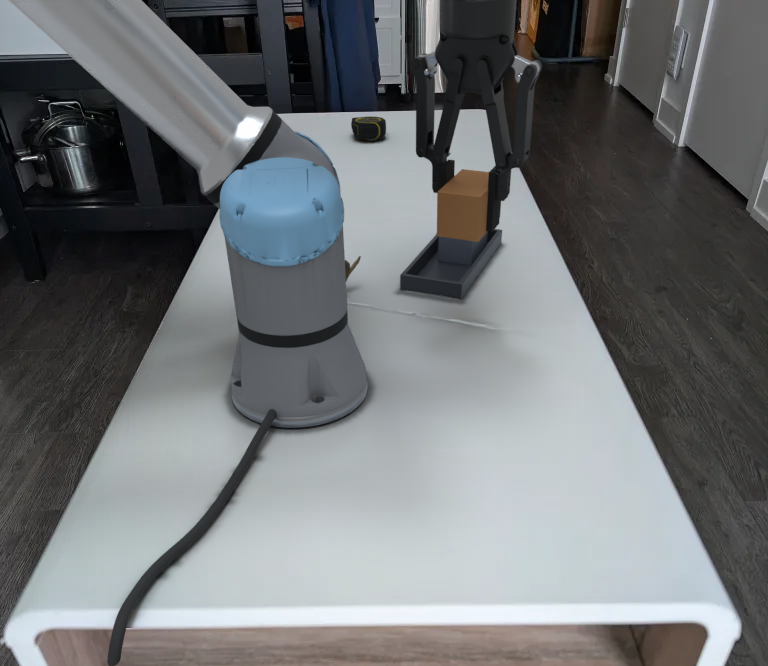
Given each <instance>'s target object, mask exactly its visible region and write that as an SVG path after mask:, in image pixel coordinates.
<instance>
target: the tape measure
mask: <svg viewBox="0 0 768 666" xmlns="http://www.w3.org/2000/svg"><path fill="white" fill-rule="evenodd" d="M350 126H351V131H352V134H353V137H355V138H356V139H359V140H366V141H367V142H374V141H375V142H376V141H377V140H378V139H382V138H384V137H385V136H386V134H387V120H386V119H385V118H384V117H380V116H359V117H351V122H350Z"/></svg>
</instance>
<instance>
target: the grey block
mask: <svg viewBox="0 0 768 666" xmlns="http://www.w3.org/2000/svg"><path fill="white" fill-rule="evenodd" d="M487 235H488V231H487V232H486V234H485V235H484V236H483V237H482V238H481V239H480V241H479V242H475V241H468V240H460V239H453V238H446V237H439V243H438V261H443V262H450V263H457V264H464V265H472V264H473V262H474V261H475V260H476V258H477V257H478V256H479V254H480V253H481V252H482V250H483V249H484V248H485V246H486V245H487Z"/></svg>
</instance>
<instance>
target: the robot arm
mask: <svg viewBox="0 0 768 666" xmlns="http://www.w3.org/2000/svg"><path fill="white" fill-rule="evenodd" d="M8 1H9V3H11V4H12V5H13V6H14V7H15V8H16V9H18V11H20V12H21V13H22V14H23V15H24V16H25V17H26V18H28V20H30V21H31V22H32V23H33V24H34V25H35V26H36V27H37V28H38V29H40V30H41V31H42V32H43V33H44V34H45V35H46V36H47V37H49V38H50V39H51V40H52V41H53V42H54V43H55V44H56V45H57V46H59V48H61V49H62V50H63V51H64V52H65V53H66V54H68V55H69V57H71V58H72V59H73V60H74V61H75V62H76V63H77V64H78V65H80V66H81V67H82V68H83V69H84V70H85V71H86V72H87V73H89V74H90V75H91V76H92V77H93V78H94V79H95V80H96V81H97V82H98V83H99V84H100V85H102V86H103V87H104V88H105V89H106V90H107V91H109V93H110V94H112V95H113V96H114V97H115V98H116V99H117V100H118V101H120V103H122V104H123V105H124V106H125V107H126V108H127V109H128V110H129V111H130V112H132V114H134V115H135V116H136V117H137V118H138V119H139V120H140V121H142V122H143V124H145V125H146V126H147V127H148V128H150V130H152V132H154V133H155V134H156V135H157V136H158V137H160V138H161V140H163V141H164V142H165V143H166V144H167V145H168V146H169V147H170V148H172V149H173V150H174V151H175V152H176V153H177V154H178V155H179V156H181V157H182V159H184V160H185V161H186V162H187V163H188V164H189V165H190V166H191V167H192V168H194V169H195V170H196V173H197V175H198V181H199V189H200V193H201V195H203V196H204V197H205V198H206V199H207V200H208V201H210V203H212V204H213V205H214V206H215V207H217V209H218V210H219V214H218V215H219V216H218V217H219V223H220V228H221V230H222V233H223V237H224V242H225V249H226V256H227V262H228V269H229V276H230V283H231V288H232V289H231V290H232V296H233V303H234V309H235V316H236V321H237V327H238V328H237V329H238V337H237V343H236V347H235V353H234V357H233V362H232V367H231V373H230V385H229V386H230V392H231V393H230V394H231V399H232V403H233V405H234V407H235V408H236V409H237V411H238V412H240V413H241V414H242V415H243V416H244V417H246V418H248V419H249V420H251V421H254V422H256V423H259V424H260V425H259V427H258V428H257V430H256V432H255V434H254V435H253V437H252V439H251V441H250V442H249V445H248V446H247V448H246V450H245V452H244V454H243V455H242V457H241V458H240V460H239V462H238V464H237V466H236V467H235V469H234V471H233V472H232V474H231V475H230V477H229V479H228V480H227V482H226V483H225V485H224V487H223V488H222V490H221V491H220V493H219V494H218V496H217V497H216V498H215V500H214V501H213V503H212V504H211V506H210V507H209V508H208V509H207V511H206V512H205V513H204V514H203V515H202V517H201V518H200V519H199V520H198V522H196V523H195V525H194V526H193V527H191V529H190V530H189V531H188V532H187V533H186V534H185V535H184V536H183V537H181V538H180V539H179V540H178V541H176V543H175V544H173V545H172V546H171V547H170V548H168V550H167V551H165V552H164V553H163V554H162V555H161V556H160V557H158V558H157V559H156V560H155V561H154V562H153V563H152V564H151V565H150V566H149V567H148V569H146V570H145V571H144V573H143V574H142V575H141V577H140V578H139V579H138V581H137V582H136V584H135V585H134V586H133V588H132V589H131V590H130V592H129V594H128V595H127V597H126V598H125V600H124V601H123V602H122V604H121V606H120V608H119V610H118V613H117V615H116V617H115V620H114V624H113V627H112V631H111V634H110V635H111V636H110V641H109V646H108V652H107V661H106V662H107V666H117V665H118V664H119V663H120V662H121V659H122V658H121V657H122V652H123V645H124V641H125V634H126V630H127V627H128V623H129V620H130V617H131V615H132V613H133V610H134V609H135V607H136V605H137V604H138V602H139V601H140V599H141V597H143V595H144V594H145V591H146V590H147V589H148V587H149V586H150V585H151V583H152V582H153V581H154V580H155V579H156V578H157V576H159V574H160V573H161V572H162V571H163V570H165V568H166V567H167V566H169V564H170V563H172V562H173V561H174V560H175V559H176V558H177V557H178V556H179V555H181V554H182V553H184V552H185V551H186V550H187V549H188V548H189V547H190V546H191V545H192V544H193V543H194V542H195V541H196V540H197V539H198V538H199V537H200V536H201V535H202V534H203V533H204V531H205V530H206V529H207V528H208V527H209V526H210V525H211V523H212V522H213V521H214V519H215V518H216V517H217V515H218V514H219V513H220V512H221V510H222V509H223V507H224V506H225V504H226V503H227V502H228V500H229V498H230V497H231V495H232V494H233V493H234V491H235V489H236V488H237V486H238V484H239V483H240V481H241V479H242V478H243V476H244V474H245V473H246V471H247V469H248V468H249V466H250V464H251V462H252V461H253V459H254V457H255V455H256V453H257V451H258V450H259V448H260V445H262V442H263V440H264V438H265V437H266V435H267V433H268V431H269V430H270V428H271V427H276V428H287V429H288V428H289V429H292V428H293V429H296V428H309V427H316V426H321V425H324V424H328V423H331V422H334V421H336V420H339V419H341V418H343V417H345V416H347V415H349V414H351V413H352V412H353V411H355V410H356V409H357V408H358V407H359V406H360V405H361V404H362V403H363V402H364V400H365V399H366V396H367V393H368V386H369V385H368V384H369V383H368V373H367V369H366V368H367V367H366V364H365V362H364V359H363V357H362V355H361V352H360V350H359V348H358V345H357V342H356V340H355V338H354V335H353V333H352V332H353V331H352V330H351V328H350V325H349V316H348V295H347V281H346V274H345V260H346V257H345V239H344V222H345V207H344V206H345V205H344V201H343V198H342V194H341V184H340V183H341V182H340V180H339V179H340V178H339V176H338V173H337V170H336V168H335V167H334V164H333V162H332V160H331V158H330V157H329V155H328V153H327V152H326V151H325V150H324V149H323V148H322V146H321V145H320V144H318V143H317V141H315V140H314V139H313V138H311V137H309V136H307V135H306V134H304V133H302V132H299V131H296V130H293V129H292V128H291V127H290V125H288V124H287V122H286V121H284V120H283V119H282V118H281V117H280V116H279V115H278V114H277V112H276V111H274V109H272V108H271V107H269V106H251V105H249V104H247V103H246V102H245V101H244V100H242V98H241V97H239V96H238V94H237V93H235V92H234V90H232V89H231V88H230V86H228V84H226V82H225V81H224V80H222V79H221V77H220V76H218V74H216V73H215V71H213V70H212V68H210V67H209V65H207V64H206V63H205V62H204V61H203V60H202V59H201V57H199V56H198V55H197V54H196V53H195V51H193V50H192V48H191V47H189V46H188V45H187V44H186V43H185V42H184V41H183V40H182V39H181V38H180V37H179V36H178V34H176V33H175V32H174V31H173V30H172V29H171V28H170V27H169V26H168V25H167V24H166V23H165V21H163V20H162V19H161V18H160V17H159V16H158V15H157V14H156V13H155V12H154V11H153V10H152V9H151V8H150V7H149V6H148V5H147V4H146V3H145V2H144V1H143V0H8ZM516 13H517V0H439V20H438V24H439V26H438V30H439V32H438V33H439V40H438V43H437V44H436V47H435V50H434V51H432V52H429V53H426V52H424V53H421V54H419V55H417V56H416V57H414V58H413V59H412V60H411V62H410V66H411V70H412V74H413V77H414V80H415V81H414V82H415V154H416V156H417V157H418V158H424V159H426V160H428V161H429V163H431V178H432V179H431V189H432V191H433V194H437V192H438V191H439V190H440V189H441V188H442V187H443V186H444V185H445V184H447V183H448V182H449V181H450V180H451V179H452V178H453V177H454V176H455V167H456V166H455V165H456V162H455V159H448V157H450V156H451V154H452V152H450V150H451V147H452V143H453V138H454V135H455V131H456V127H457V123H458V119H459V116H460V112H461V109H462V104H463V101H464V98H465V96H466V94H469V93H472V94H475V95H478V96H481V101H482V105H483V106H484V109H485V113H486V120H487V124H488V125H487V126H488V130H489V136H490V141H491V146H492V147H491V148H492V153H493V154H492V155H493V158H494V164H495V165H494V166H493V168H492V169H490V170H489V171H488V172H489V178H488V204H487V223H486V231H488V232H492V231H493V230H494V229H497V227H498V226H499V224H500V219H501V211H500V204H501V205H502V202H505V201H506V200H507V198H508V197H509V195H510V191H511V179H512V169H520V168H521V167H523V165H524V164H526V162H527V161H528V160H529V158H530V154H531V142H532V141H531V140H532V127H533V113H534V99H535V87H536V83H537V81H538V79H539V77H540V73H541V72H542V68H543V65H542V61H540V60H539V59H535V60H533V61H531V60H529V59H527V58H525V57H523V56H521V55H520V54H519V52H518V48H517V46H516V44H515V29H516V16H517V15H516ZM438 66H439V68H440V69H441V71H442V73H443V74H444V76H445V78H446V79H447V84H446V88H445V92H444V97H443V99H444V103H443V106H442V111H441V115H440V120H439V124H438V128H437V133H436V136H435V110H436V109H435V106H436V78H435V77H436V74H437V72H438ZM512 69H513V71H514V80H515V82H516V83H517V84H518V85H517V88H516V94H515V106H514V107H515V110H514V123H513V124H514V126H513V144H511V138H510V133H509V125H508V120H507V119H508V118H507V113H506V108H505V102H504V97H505V92H504V86H503V81H504V79H505V78H506V76H507V75H508V74H509V72H510V71H511V70H512Z"/></svg>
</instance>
